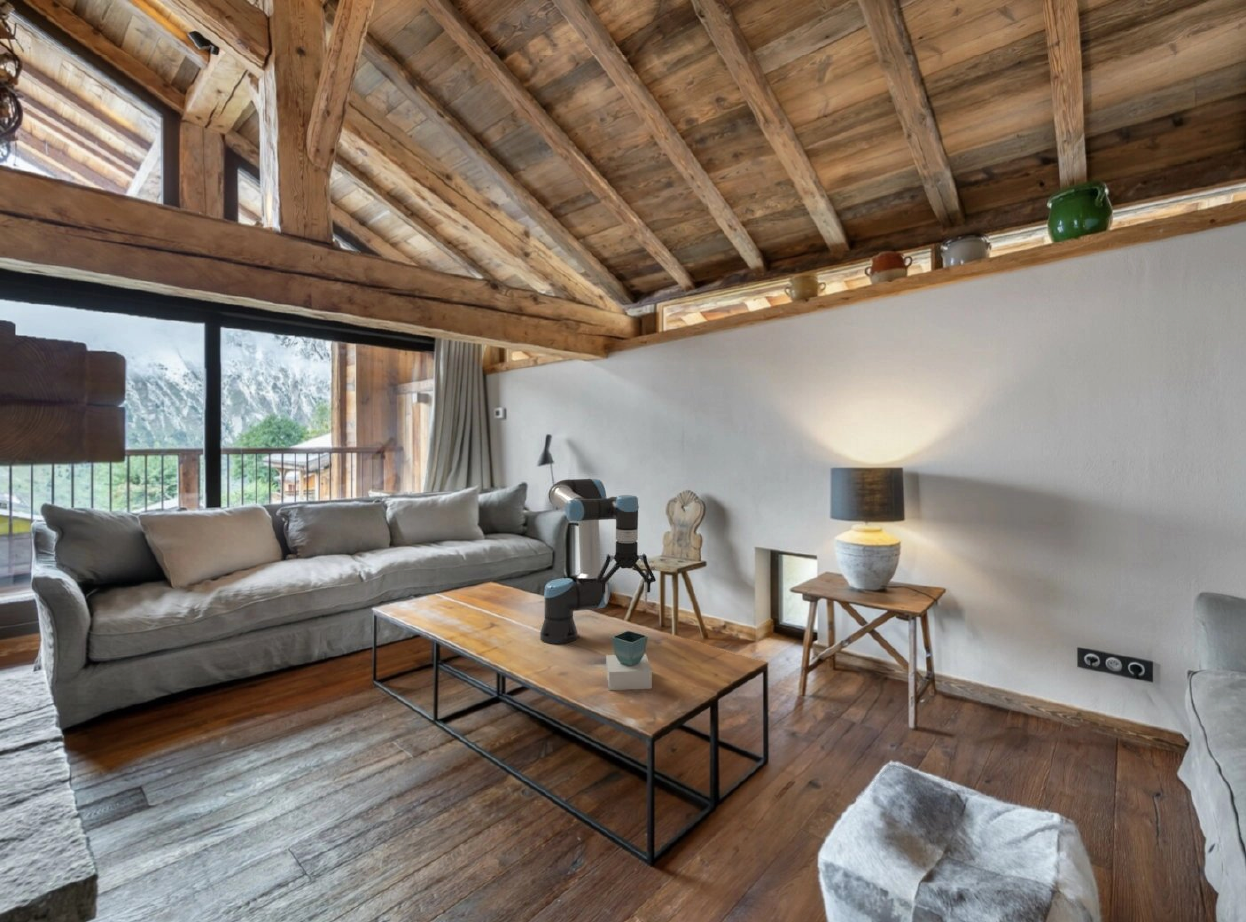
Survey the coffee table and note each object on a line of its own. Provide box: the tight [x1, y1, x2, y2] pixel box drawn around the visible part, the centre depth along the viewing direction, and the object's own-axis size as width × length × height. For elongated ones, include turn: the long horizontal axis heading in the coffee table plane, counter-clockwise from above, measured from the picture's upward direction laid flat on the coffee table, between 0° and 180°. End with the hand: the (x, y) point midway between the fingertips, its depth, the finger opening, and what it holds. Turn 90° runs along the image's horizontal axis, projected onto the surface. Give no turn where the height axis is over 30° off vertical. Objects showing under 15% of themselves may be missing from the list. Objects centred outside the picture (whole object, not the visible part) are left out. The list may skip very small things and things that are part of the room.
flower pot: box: [612, 630, 648, 666], centre depth 187 cm, size 9×9×9 cm
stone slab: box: [605, 653, 653, 691], centre depth 188 cm, size 14×14×6 cm
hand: (625, 602), depth 191 cm, fingers open, 13 cm apart
